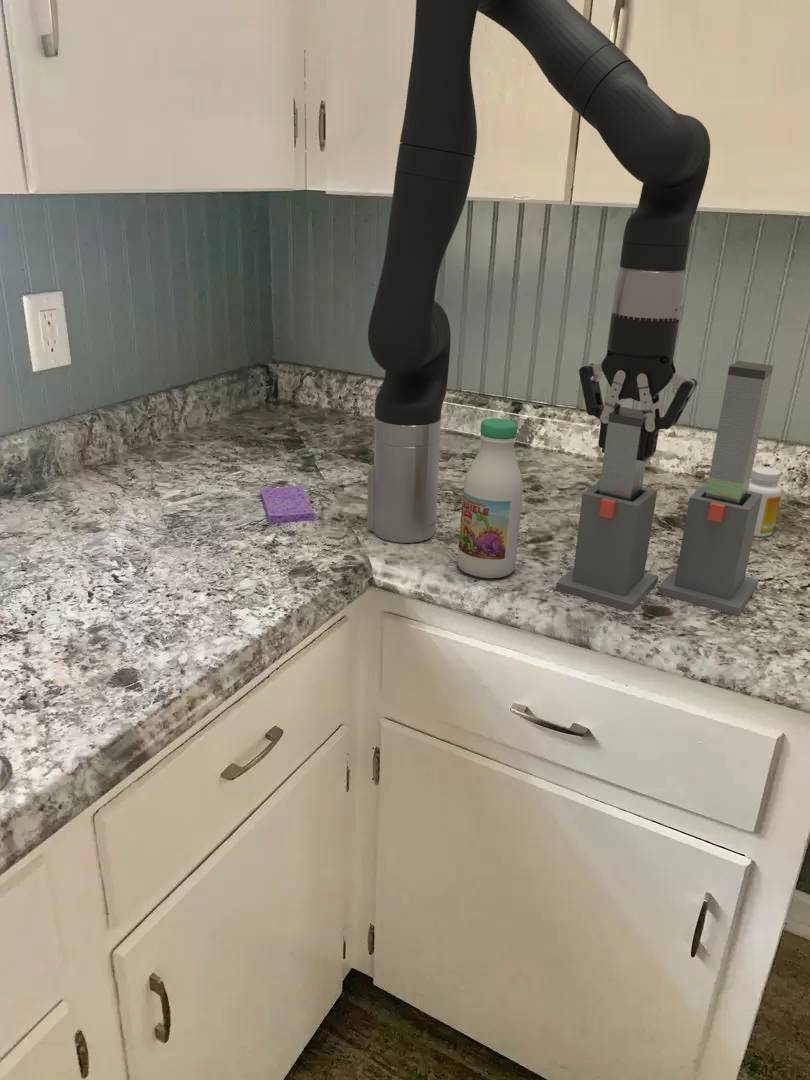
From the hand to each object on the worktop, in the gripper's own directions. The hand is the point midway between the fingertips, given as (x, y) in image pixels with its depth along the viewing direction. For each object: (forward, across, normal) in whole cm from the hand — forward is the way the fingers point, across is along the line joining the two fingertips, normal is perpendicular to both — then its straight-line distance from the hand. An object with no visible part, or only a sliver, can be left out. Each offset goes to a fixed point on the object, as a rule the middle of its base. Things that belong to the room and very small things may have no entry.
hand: (625, 455), depth 102 cm
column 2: (+11, +11, +7) cm, 17 cm away
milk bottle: (+18, -15, -5) cm, 24 cm away
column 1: (+17, 0, 0) cm, 17 cm away
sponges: (+18, -51, -4) cm, 54 cm away
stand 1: (+18, 0, 0) cm, 18 cm away
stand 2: (+18, +11, +7) cm, 22 cm away
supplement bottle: (+18, +11, +32) cm, 38 cm away
